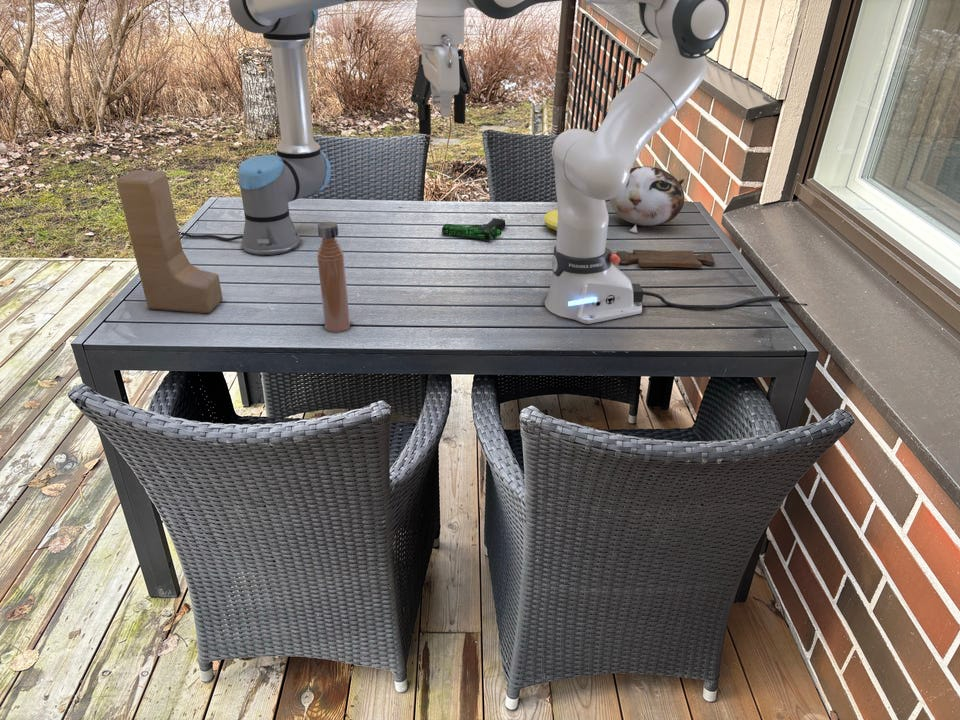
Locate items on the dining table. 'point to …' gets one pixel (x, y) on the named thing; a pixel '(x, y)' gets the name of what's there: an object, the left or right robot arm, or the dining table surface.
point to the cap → (328, 230)
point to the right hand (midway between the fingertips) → (441, 111)
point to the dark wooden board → (665, 258)
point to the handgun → (476, 230)
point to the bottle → (333, 285)
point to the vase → (551, 219)
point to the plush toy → (649, 197)
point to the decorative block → (163, 247)
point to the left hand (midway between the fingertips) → (442, 128)
